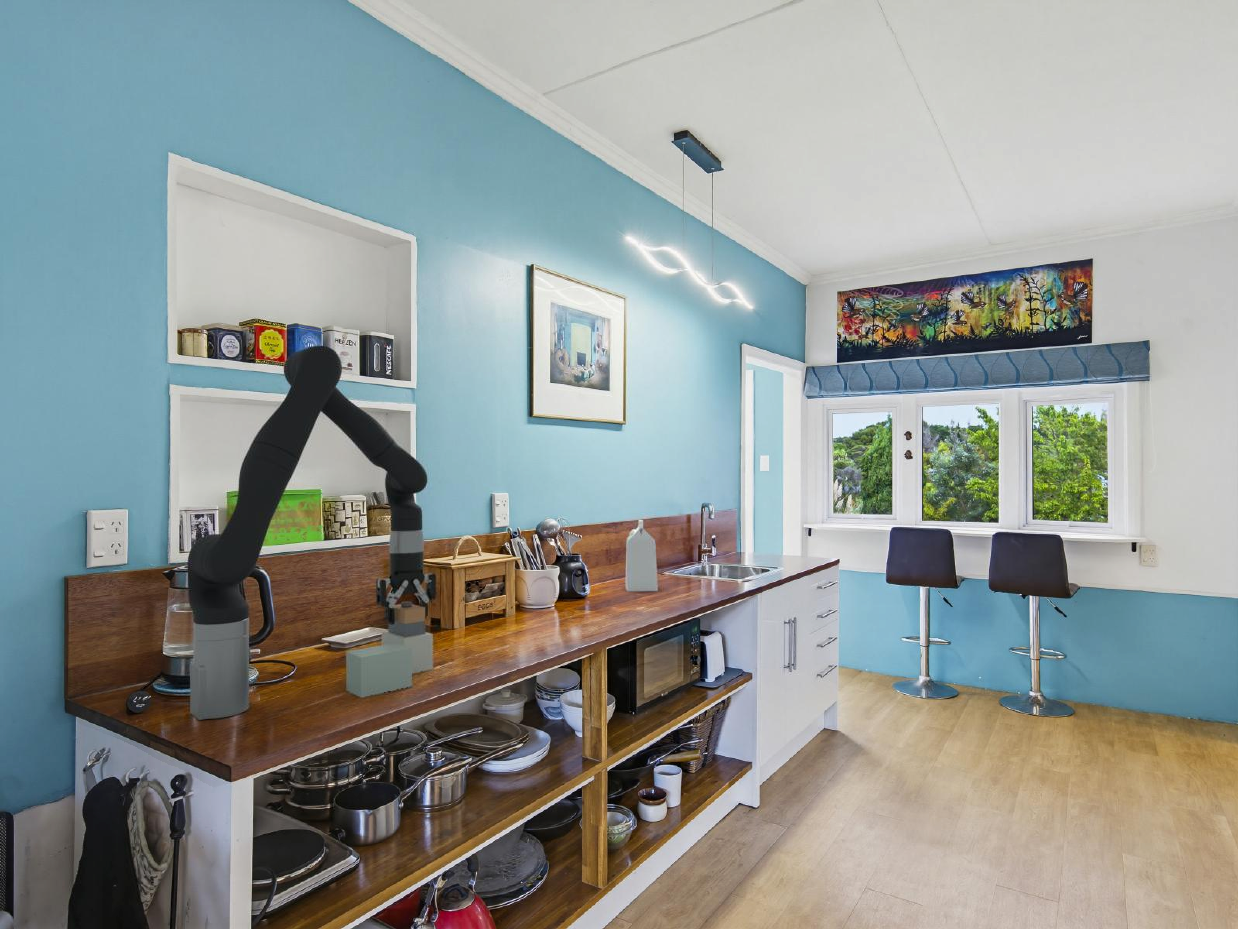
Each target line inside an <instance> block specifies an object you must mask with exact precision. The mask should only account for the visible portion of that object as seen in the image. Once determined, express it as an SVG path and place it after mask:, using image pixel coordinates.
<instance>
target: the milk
mask: <svg viewBox="0 0 1238 929" xmlns="http://www.w3.org/2000/svg"><path fill="white" fill-rule="evenodd" d="M637 522H638V523H637V524H638V525H637V527H636V528H633V529H631V531H630V532H629V533H628V536H627V537H626V542H625V544H626V547H625V549H626V550H625V551H626V552H625V581H624V582H625V584H624V585H625V586H624V587H625V589H626V592H658V589H659V588H658V568H657V567H658V566H657V548H656V540H655V538H653V536H652V535H650V534H649V533H648V531H647V530H645V528H644V520H643V519H638V521H637Z"/></svg>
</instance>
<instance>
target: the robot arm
mask: <svg viewBox="0 0 1238 929" xmlns="http://www.w3.org/2000/svg"><path fill="white" fill-rule="evenodd" d="M342 373H343V365H342V360H341V358H340V356H339V354H338V353H337V351H335V349H333V348H331V347H329V346H327V345H313V346H309V347H307V348H306V347H305V348H303V349H300V350H298V351H296V352H294V353H292V354H291V355H289V356H288V357H287V358H286V360H285V362H284V365H283V374H284V377H285V379H286V381H287V383H288V384H289V386H290V388H289V390H288V392H287V394H286V396H285V397H284V400H283V401H282V402H281V404H280V405H279V407H277V408H276V409H275V411H274V412H273V413H272V415H271V416H269V418H267V420H266V421H265V422H264V424H263V425H262V427H261V428H260V429H259V430H258V431H257V433H256V435H255V437H254V438H253V440H252V442H251V444H250V446H249V447H248V449H247V452H246V454H245V456H244V458H243V460H242V463H241V467H240V470H239V474H238V475H239V476H238V487H237V488H238V490H237V491H238V492H237V499H236V505H235V507H234V510H233V512H232V514H231V516H230V517H229V520H228V522H227V524H226V526H225V527H224V529H223V531H222V533H221V534H220V533H213V534H212V533H211V534H206V535H204V536H202V537H200V538H199V539H197V540H196V541H195V542H194V544H192V545H191V546H192V547H191V549H190V551H189V553H188V555H187V556H188V557H187V567H186V568H187V594H188V603H189V606H190V609H191V612H192V618H193V661H191V662H189V663H190V664H189V675H190V676H189V678H190V680H189V686H190V687H189V701H190V702H189V705H190V706H189V707H190V708H189V709H190V710H189V712H190V714H191V715H192V716H193V717H195V718H196V719H197V720H198V721H202V720H208V719H222V718H228V717H233V716H235V715H239V714H241V713H243V712H246V711H247V710H248V709H250V639H249V638H250V607H249V604H248V602H247V601H246V599H245V598H244V597H243V595H242V594H241V591H240V586H239V584H240V583H243V581H245V580H246V579H247V578H248V577H249V576H250V575H251V574H252V572H253V571H254V569H255V568H256V565H257V563H258V560H259V558H260V554H261V551H262V549H263V546H264V542H265V539H266V537H267V533H268V530H269V528H270V524H271V522H272V520H273V517H274V515H275V513H276V510H277V509H278V506H279V505H280V501H281V500H282V497H283V495H284V493H285V490H286V489H287V486H288V484H289V483H290V481H291V479H292V477H293V475H294V472H295V471H296V468H297V466H298V464H299V461H300V459H301V457H302V454H303V452H304V450H305V448H306V445H307V443H308V441H309V438H310V436H311V434H312V431H313V429H314V426H315V424H316V422H317V419H318V418H319V416H320V414H321V413H322V414H323V415H325V416H326V417H327V418H328V419H329V420H330V421H331V422H332V423H334V424H335V426H337V427H338V429H340V430H341V431H342V432H343V433H344V434H345V435H346V437H347V438H349V439H350V441H351V442H352V443H353V444H354V445H355V446H356V447H357V449H359V451H361V453H362V454H363V455H364V457H366V459H368V461H369V462H370V463H371V464H373V465H374V466H376V467H378V468H380V469H383V470H385V472H386V474H385V478H384V488H385V493H386V497H387V498H386V499H387V504H388V506H389V510H390V535H389V573H390V574H389V576H388V578H377V579H376V581H375V584H376V585H375V587H376V588H375V594H376V595H375V598H376V601H375V603H376V606H381V607H383V608H384V620H385V622H387V625H388V624H390V625H393V624H395V608H393V607H394V605H396V603H397V601H398V600H399V599H400V598H401V596H406V595H409V594H410V595H415V596H416V598H417V599H418V601H419V602H418V606H421V607H425V620H426V619H427V618H428V616H429V603H430V601H432V600H436V598H437V575H436V574H435V573H431V572H427V573H424V566H425V564H424V563H425V562H424V561H425V560H424V558H425V556H424V555H425V554H424V549H425V545H424V543H425V542H424V534H423V510H422V507H421V506H420V505H418V504H417V503H416V501H415V496H414V495H415V494H418V493H421V492H422V491H423V490H424V489H426V486H427V484H428V475H427V471H426V470H425V468H424V466H423V465H422V464H421V463H420V462H419V460H417V459H416V458H415V457H414V456H413V455H411V454H410V453H409V452H408V451H406V450H405V449H404V448H402V447H401V446H400V445H399V444H398V443H397V442H396V441H395V440H394V438H393V437H392V436H391V435H390V434H389V432H388V431H387V430H386V429H385V428H384V427H383V426H382V425H381V423H380V422H378V421H377V419H375V418H374V417H373V416H372V415H370V414H369V413H367V412H366V411H364V410H363V409H361V408H360V407H359V406H357V405H356V404H355V403H353V402H352V401H351V400H349V399H348V398H347V397H346V396H345V395H344V394H343V393H342V392H341V391H340V390H339V389H338V388H337V385H338V383H339V382H340V379H341V378H342ZM423 582H424V583H425V585H426V586H425V589H424V588H423V586H422V584H423ZM389 585H390V586H391V588H390V590H389V592H388V594H387V588H388V587H389ZM425 590H426V591H425Z"/></svg>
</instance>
